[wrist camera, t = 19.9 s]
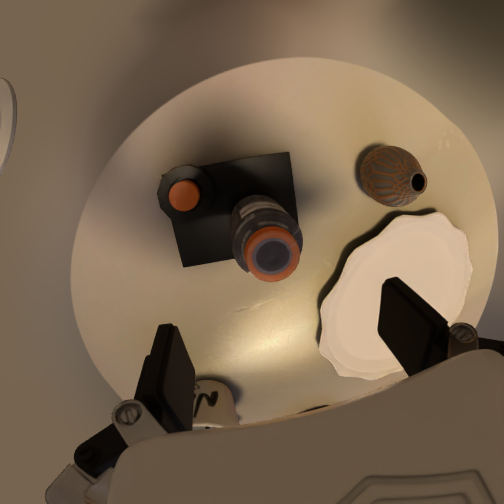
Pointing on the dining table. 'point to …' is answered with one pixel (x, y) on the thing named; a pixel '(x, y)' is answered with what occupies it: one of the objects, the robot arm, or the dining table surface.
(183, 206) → the button
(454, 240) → the plate
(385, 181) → the vase
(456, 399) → the robot arm
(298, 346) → the dining table surface
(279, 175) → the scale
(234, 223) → the pill bottle
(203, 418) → the mug
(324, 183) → the dining table surface
